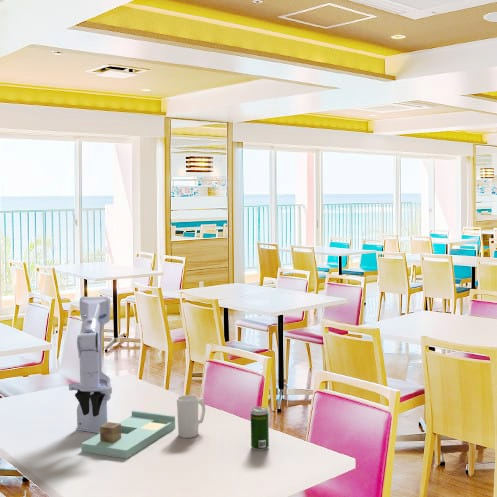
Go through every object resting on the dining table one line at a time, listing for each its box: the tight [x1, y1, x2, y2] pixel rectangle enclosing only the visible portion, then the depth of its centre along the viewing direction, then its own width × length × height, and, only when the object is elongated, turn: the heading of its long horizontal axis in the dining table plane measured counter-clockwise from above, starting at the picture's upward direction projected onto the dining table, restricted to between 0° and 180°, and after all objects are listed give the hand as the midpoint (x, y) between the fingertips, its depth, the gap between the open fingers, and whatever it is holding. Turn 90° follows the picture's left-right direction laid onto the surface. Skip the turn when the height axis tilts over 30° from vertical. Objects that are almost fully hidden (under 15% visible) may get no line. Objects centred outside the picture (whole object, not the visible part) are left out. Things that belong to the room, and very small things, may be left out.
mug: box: [176, 394, 206, 439], centre depth 228 cm, size 10×7×12 cm, turn 128°
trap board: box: [80, 410, 176, 460], centre depth 224 cm, size 16×29×4 cm, turn 157°
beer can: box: [250, 406, 270, 452], centre depth 215 cm, size 5×5×12 cm
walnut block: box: [99, 421, 121, 443], centre depth 217 cm, size 4×4×4 cm
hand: (91, 414), depth 219 cm, fingers open, 3 cm apart
